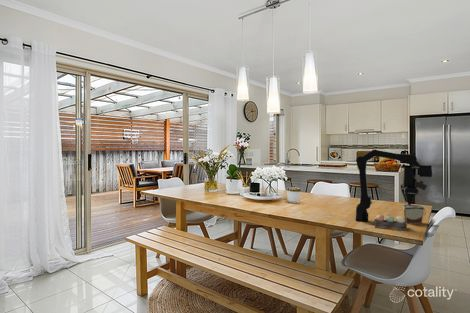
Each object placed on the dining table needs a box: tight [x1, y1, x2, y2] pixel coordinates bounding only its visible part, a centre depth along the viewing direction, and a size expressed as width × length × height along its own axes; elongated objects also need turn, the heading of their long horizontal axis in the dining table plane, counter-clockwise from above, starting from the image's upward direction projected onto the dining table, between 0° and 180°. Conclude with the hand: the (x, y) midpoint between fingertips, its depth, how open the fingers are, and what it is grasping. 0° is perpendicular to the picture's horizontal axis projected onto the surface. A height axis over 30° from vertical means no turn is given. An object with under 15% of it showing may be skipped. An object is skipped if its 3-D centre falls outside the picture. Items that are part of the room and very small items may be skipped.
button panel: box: [374, 218, 408, 232], centre depth 156 cm, size 15×9×3 cm, turn 66°
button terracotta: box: [376, 214, 385, 222], centre depth 158 cm, size 4×4×3 cm
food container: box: [402, 204, 425, 224], centre depth 167 cm, size 12×6×10 cm, turn 92°
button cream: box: [395, 216, 405, 224], centre depth 154 cm, size 4×4×3 cm
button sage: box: [385, 215, 395, 223], centre depth 156 cm, size 4×4×3 cm
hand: (407, 203), depth 159 cm, fingers open, 9 cm apart
